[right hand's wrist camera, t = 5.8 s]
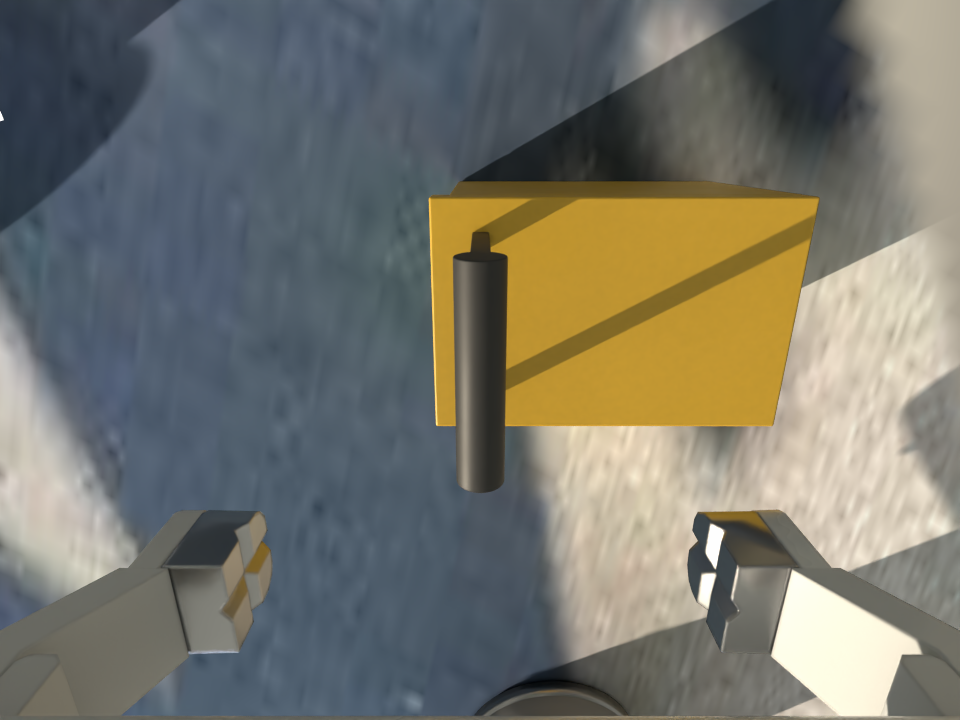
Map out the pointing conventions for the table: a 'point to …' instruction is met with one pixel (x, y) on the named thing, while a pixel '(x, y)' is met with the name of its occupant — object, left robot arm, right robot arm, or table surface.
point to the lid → (610, 312)
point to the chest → (606, 188)
